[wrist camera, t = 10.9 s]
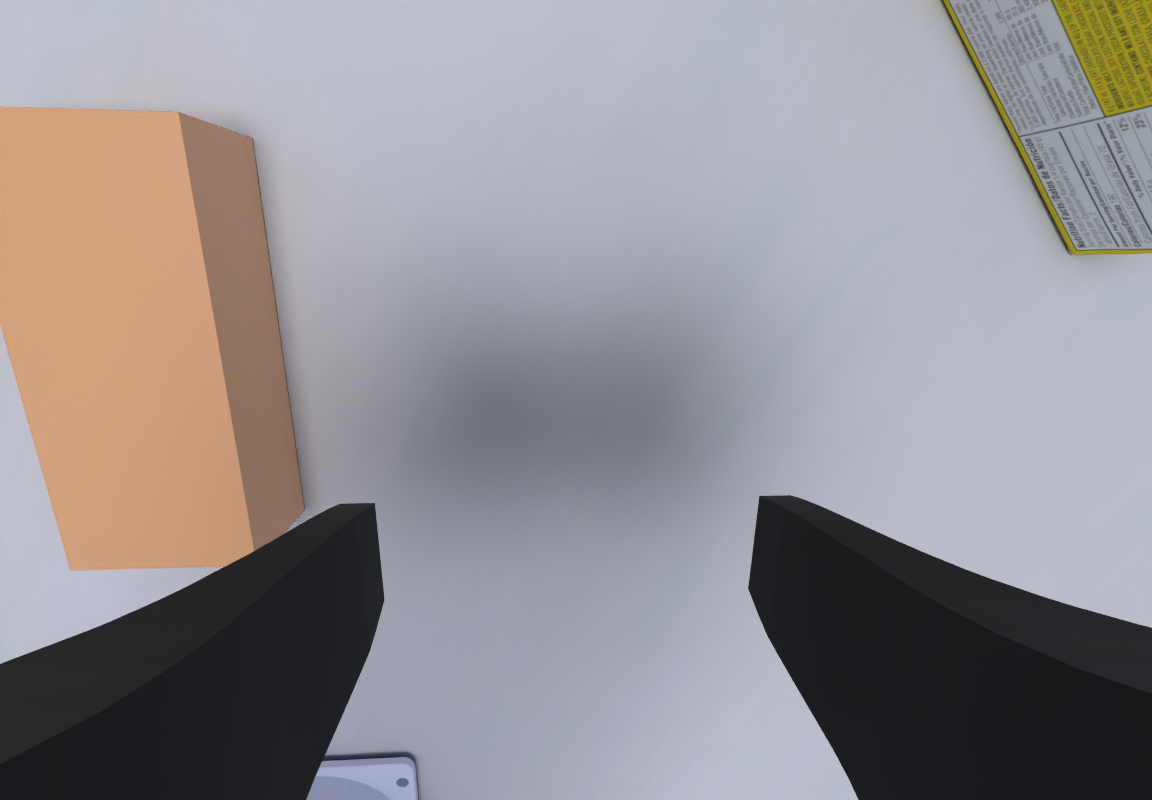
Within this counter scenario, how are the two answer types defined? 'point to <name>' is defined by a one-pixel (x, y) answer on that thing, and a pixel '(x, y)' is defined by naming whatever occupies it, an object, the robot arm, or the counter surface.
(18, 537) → the counter surface
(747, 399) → the counter surface
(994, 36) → the candy box
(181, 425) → the tan rectangular plank
